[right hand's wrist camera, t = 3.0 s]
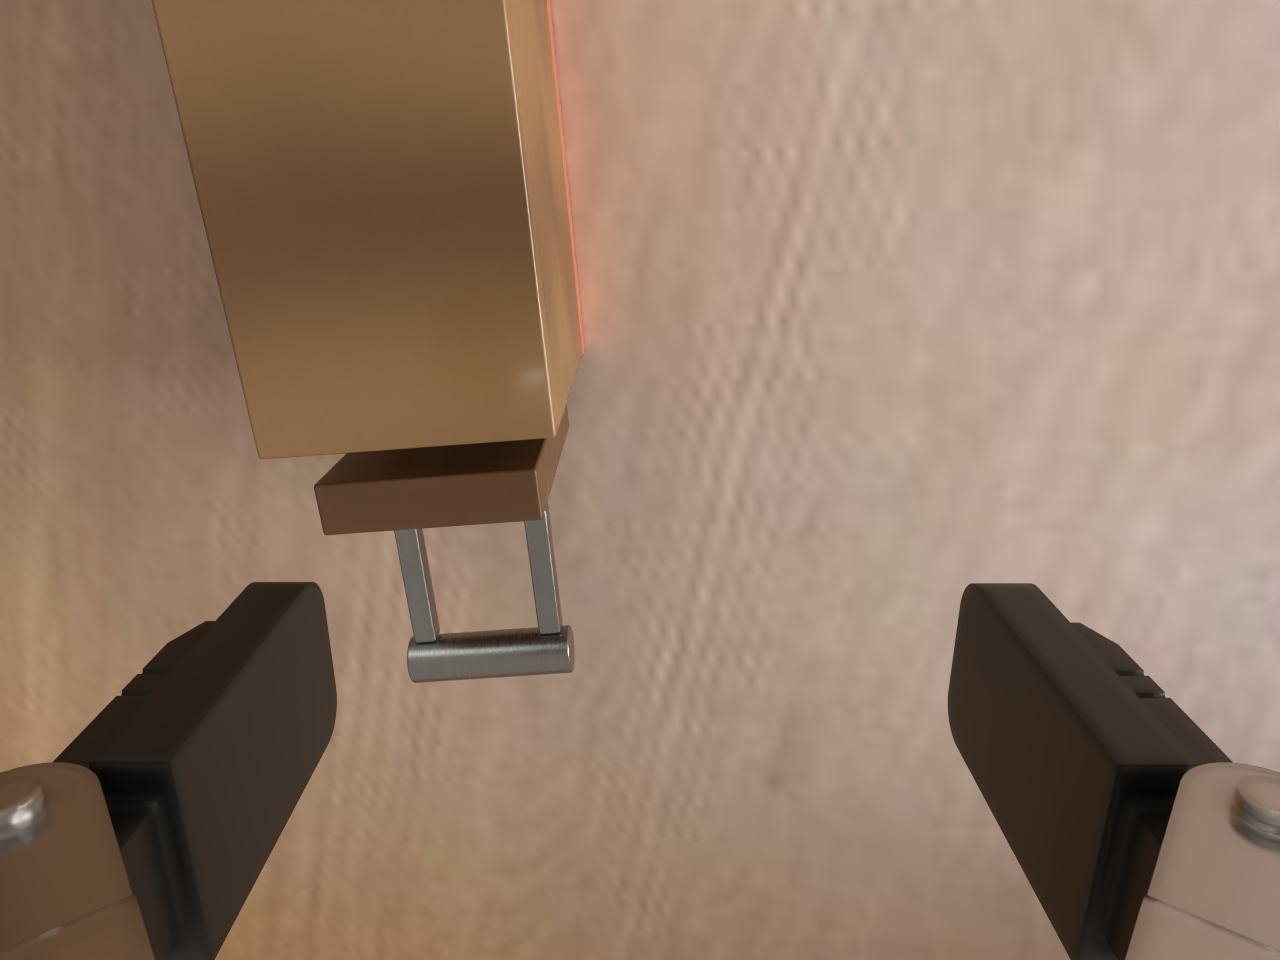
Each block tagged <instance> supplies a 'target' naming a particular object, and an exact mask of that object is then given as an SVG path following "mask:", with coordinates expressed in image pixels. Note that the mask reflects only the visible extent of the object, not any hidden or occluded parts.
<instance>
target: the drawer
mask: <svg viewBox="0 0 1280 960" xmlns="http://www.w3.org/2000/svg"><path fill="white" fill-rule="evenodd" d="M568 427H569V421H568V412H567V403H566V406H565V409H564V413H563V416H562V419H561V422H560V425H559V427H558V430H557V433H556V436H555V437H553V438H542V439H529V440H515V441H502V442H489V443H475V444H462V445H448V446H435V447H421V448H408V449H394V450H381V451H367V452H354V453H347V454H346V455H344V456H343V457H342V458H341V459H340V460H339V461H338V462H337V463H336V464H335V465H334V466H333V467H332V468H331V469H330V470H329V471H328V472H327V473H326V474H325V475H324V476H323V477H322V478H321V479H320V480H319V481H318V482H317V483H316V484H315V485H314V490H315V495H316V500H317V504H318V509H319V513H320V518H321V523H322V527H323V532H324V534H325V535H335V534H349V533H363V532H377V531H391V530H394V532H395V538H396V543H397V548H398V554H399V559H400V565H401V570H402V575H403V581H404V586H405V591H406V597H407V602H408V608H409V613H410V618H411V624H412V629H413V634H414V636H413V637H412V638H411V639H410V642H409V645H408V652H407V665H408V672H409V675H410V678H411V680H412V681H413V682H414V683H420V682H435V681H451V680H466V679H481V678H496V677H511V676H526V675H542V674H557V673H571V672H573V669H574V639H573V632H572V628H571V626H569V625H566V626H562V615H561V607H560V598H559V590H558V582H557V574H556V566H555V557H554V549H553V541H552V533H551V525H550V516H549V508H548V497H549V494H550V490H551V487H552V483H553V480H554V476H555V473H556V469H557V466H558V462H559V459H560V455H561V452H562V448H563V445H564V441H565V438H566V434H567V431H568ZM517 521H524V523H525V531H526V538H527V546H528V553H529V561H530V568H531V576H532V583H533V591H534V599H535V606H536V614H537V621H538V627H537V628H522V629H507V630H492V631H477V632H463V633H448V634H439V632H440V628H439V622H438V616H437V610H436V605H435V599H434V593H433V587H432V582H431V576H430V570H429V565H428V559H427V553H426V547H425V542H424V536H423V530H422V528H433V527H447V526H461V525H475V524H489V523H503V522H517Z"/></svg>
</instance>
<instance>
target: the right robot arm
mask: <svg viewBox="0 0 1280 960" xmlns="http://www.w3.org/2000/svg"><path fill="white" fill-rule="evenodd" d="M336 708H337V694H336V685H335V677H334V670H333V662H332V655H331V648H330V640H329V633H328V625H327V618H326V611H325V604H324V598H323V594H322V592H321V589H320V587H319V586H318V585H317V584H316V583H314V582H253V583H251V584H249V585H248V586H247V587H246V588H245V589H244V590H243V591H242V593H241V594H240V595H239V596H238V597H237V598H236V599H235V600H234V601H233V602H232V604H231V605H230V606H229V607H228V608H227V609H226V610H225V611H224V612H223V613H222V615H221V616H220V617H219V618H218V619H217V620H216V621H205V622H204V623H202V624H200V625H198V626H197V627H195V628H193V629H191V630H190V631H188V632H186V633H184V634H183V635H181V636H179V637H177V638H176V639H174V640H172V641H170V642H169V643H167V644H166V645H165V646H164V647H163V648H162V649H161V650H160V651H159V653H158V654H157V655H156V656H155V657H154V658H153V659H152V660H151V661H150V662H149V663H148V664H147V665H146V666H145V667H144V668H143V673H142V674H137V675H136V676H135V677H134V678H133V679H132V680H131V682H130V683H129V684H128V685H127V686H126V687H125V688H124V689H123V690H122V695H121V696H116V697H115V698H114V699H113V700H112V701H111V702H110V703H109V704H108V705H107V706H106V707H105V708H104V709H103V711H102V712H101V713H100V714H99V715H98V716H97V717H96V718H95V719H94V720H93V721H92V722H91V723H90V724H89V725H88V726H87V727H86V728H85V729H84V730H83V731H82V732H81V733H80V734H79V735H78V736H77V737H76V738H75V740H74V741H73V742H72V743H71V744H70V745H69V746H68V747H67V748H66V749H65V750H64V751H63V752H62V753H61V754H60V755H59V756H58V757H57V758H56V759H55V760H54V761H53V762H52V763H41V764H33V765H28V766H23V767H18V768H15V769H11V770H8V771H4V772H1V773H0V960H214V959H215V958H216V956H217V954H218V952H219V950H220V948H221V946H222V944H223V942H224V940H225V939H226V937H227V935H228V933H229V931H230V929H231V927H232V925H233V923H234V922H235V920H236V918H237V916H238V914H239V912H240V910H241V908H242V906H243V905H244V903H245V901H246V899H247V897H248V895H249V893H250V891H251V889H252V887H253V886H254V884H255V882H256V880H257V878H258V876H259V874H260V872H261V870H262V869H263V867H264V865H265V863H266V861H267V859H268V857H269V855H270V853H271V852H272V850H273V848H274V846H275V844H276V842H277V840H278V838H279V836H280V834H281V833H282V831H283V829H284V827H285V825H286V823H287V821H288V819H289V817H290V816H291V814H292V812H293V810H294V808H295V806H296V804H297V802H298V800H299V798H300V797H301V795H302V793H303V791H304V789H305V787H306V785H307V783H308V781H309V780H310V778H311V776H312V774H313V772H314V770H315V768H316V766H317V764H318V763H319V761H320V759H321V757H322V755H323V753H324V751H325V749H326V747H327V745H328V743H329V741H330V739H331V736H332V732H333V729H334V724H335V718H336ZM948 714H949V722H950V727H951V732H952V735H953V738H954V741H955V743H956V746H957V748H958V750H959V751H960V753H961V755H962V757H963V759H964V761H965V763H966V764H967V766H968V768H969V770H970V772H971V774H972V776H973V778H974V779H975V781H976V783H977V785H978V787H979V789H980V791H981V793H982V794H983V796H984V798H985V800H986V802H987V804H988V806H989V807H990V809H991V811H992V813H993V815H994V817H995V819H996V821H997V822H998V824H999V826H1000V828H1001V830H1002V832H1003V834H1004V836H1005V837H1006V839H1007V841H1008V843H1009V845H1010V847H1011V849H1012V851H1013V852H1014V854H1015V856H1016V858H1017V860H1018V862H1019V864H1020V865H1021V867H1022V869H1023V871H1024V873H1025V875H1026V877H1027V879H1028V880H1029V882H1030V884H1031V886H1032V888H1033V890H1034V892H1035V894H1036V895H1037V897H1038V899H1039V901H1040V903H1041V905H1042V907H1043V909H1044V910H1045V912H1046V914H1047V916H1048V918H1049V920H1050V922H1051V923H1052V925H1053V927H1054V929H1055V931H1056V933H1057V935H1058V937H1059V938H1060V940H1061V942H1062V944H1063V946H1064V948H1065V950H1066V952H1067V953H1068V955H1069V957H1070V959H1071V960H1280V773H1279V772H1276V771H1272V770H1269V769H1265V768H1262V767H1257V766H1252V765H1247V764H1239V763H1233V762H1232V761H1231V760H1230V759H1229V758H1228V757H1227V756H1226V755H1225V754H1224V753H1223V752H1222V751H1221V750H1220V749H1219V748H1218V747H1217V746H1216V745H1215V743H1214V742H1213V741H1212V740H1211V739H1210V738H1209V737H1208V736H1207V735H1206V734H1205V733H1204V732H1203V731H1202V730H1201V729H1200V728H1199V727H1198V726H1197V725H1196V724H1195V723H1194V722H1193V721H1192V720H1191V719H1190V718H1189V717H1188V716H1187V715H1186V714H1185V713H1184V712H1183V711H1182V710H1181V709H1180V708H1179V707H1178V706H1177V704H1176V703H1175V702H1174V701H1173V700H1172V699H1171V698H1165V692H1164V691H1163V690H1162V689H1161V688H1160V687H1159V686H1158V685H1157V684H1156V683H1155V682H1154V681H1153V680H1152V679H1151V678H1150V677H1149V676H1144V673H1143V670H1142V669H1141V668H1140V666H1139V665H1138V664H1137V663H1136V662H1135V661H1134V660H1133V659H1132V658H1131V657H1130V656H1129V655H1128V654H1127V653H1126V652H1125V651H1124V650H1123V649H1122V648H1121V647H1120V646H1119V645H1118V644H1116V643H1114V642H1113V641H1111V640H1109V639H1107V638H1106V637H1104V636H1102V635H1100V634H1099V633H1097V632H1095V631H1093V630H1092V629H1090V628H1088V627H1086V626H1085V625H1083V624H1081V623H1070V622H1069V621H1068V620H1067V619H1066V617H1065V616H1064V615H1063V614H1062V613H1061V612H1060V611H1059V610H1058V609H1057V608H1056V607H1055V605H1054V604H1053V603H1052V602H1051V601H1050V600H1049V599H1048V598H1047V597H1046V596H1045V595H1044V593H1043V592H1042V591H1041V590H1040V589H1039V588H1038V587H1037V586H1036V585H1034V584H1029V583H972V584H969V585H968V586H967V587H966V589H965V590H964V593H963V595H962V599H961V604H960V611H959V618H958V625H957V633H956V640H955V647H954V655H953V662H952V669H951V676H950V684H949V691H948Z"/></svg>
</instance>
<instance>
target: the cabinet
mask: <svg viewBox="0 0 1280 960" xmlns="http://www.w3.org/2000/svg"><path fill="white" fill-rule="evenodd" d="M152 3H153V8H154V12H155V16H156V21H157V25H158V29H159V33H160V38H161V42H162V46H163V50H164V55H165V59H166V63H167V68H168V72H169V76H170V80H171V85H172V89H173V93H174V97H175V102H176V106H177V110H178V115H179V119H180V123H181V127H182V132H183V136H184V140H185V144H186V149H187V153H188V157H189V162H190V166H191V170H192V174H193V179H194V183H195V187H196V191H197V196H198V200H199V204H200V208H201V213H202V217H203V221H204V226H205V230H206V234H207V238H208V243H209V247H210V251H211V255H212V260H213V264H214V268H215V273H216V277H217V281H218V285H219V290H220V294H221V298H222V302H223V307H224V311H225V315H226V320H227V324H228V328H229V332H230V337H231V341H232V345H233V349H234V354H235V358H236V362H237V367H238V371H239V375H240V379H241V384H242V388H243V392H244V396H245V401H246V405H247V409H248V413H249V418H250V422H251V426H252V431H253V435H254V439H255V443H256V448H257V452H258V456H259V458H260V459H273V458H287V457H300V456H314V455H327V454H340V453H354V452H367V451H381V450H394V449H408V448H421V447H435V446H448V445H462V444H475V443H489V442H502V441H515V440H529V439H542V438H553V437H555V436H556V433H557V430H558V427H559V425H560V422H561V419H562V416H563V413H564V409H565V406H566V403H567V400H568V397H569V394H570V391H571V388H572V385H573V382H574V379H575V375H576V372H577V369H578V366H579V363H580V360H581V357H582V356H583V354H584V351H585V344H584V334H583V324H582V314H581V304H580V294H579V284H578V274H577V264H576V254H575V244H574V234H573V224H572V214H571V205H570V195H569V185H568V175H567V165H566V155H565V145H564V135H563V125H562V115H561V105H560V95H559V85H558V75H557V65H556V55H555V46H554V36H553V26H552V16H551V6H550V0H152Z"/></svg>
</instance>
